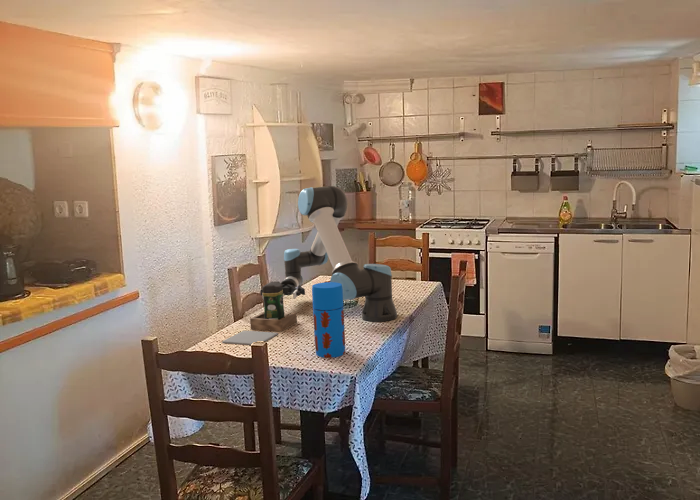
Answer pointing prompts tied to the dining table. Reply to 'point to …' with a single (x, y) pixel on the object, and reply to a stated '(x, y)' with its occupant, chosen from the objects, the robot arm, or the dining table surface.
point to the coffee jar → (273, 301)
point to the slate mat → (249, 337)
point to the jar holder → (273, 322)
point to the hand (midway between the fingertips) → (278, 296)
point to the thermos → (328, 319)
